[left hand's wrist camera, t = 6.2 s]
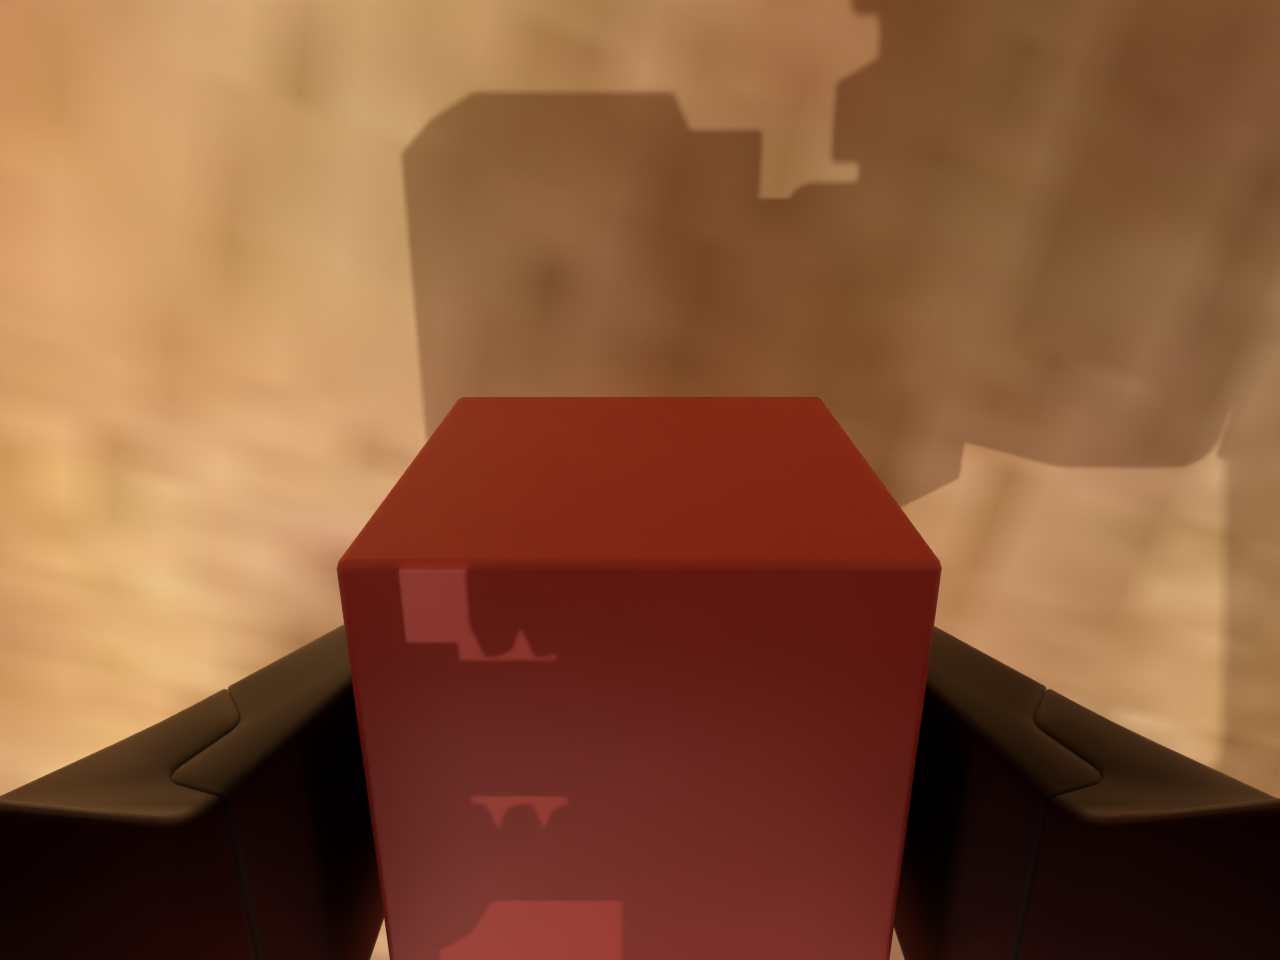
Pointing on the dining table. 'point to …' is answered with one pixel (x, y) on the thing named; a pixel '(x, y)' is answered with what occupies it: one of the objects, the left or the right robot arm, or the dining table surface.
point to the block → (639, 683)
